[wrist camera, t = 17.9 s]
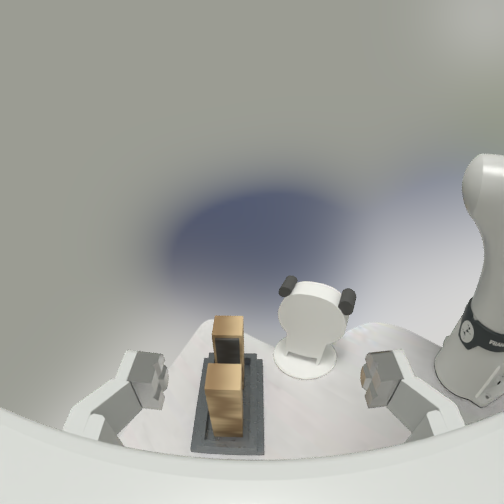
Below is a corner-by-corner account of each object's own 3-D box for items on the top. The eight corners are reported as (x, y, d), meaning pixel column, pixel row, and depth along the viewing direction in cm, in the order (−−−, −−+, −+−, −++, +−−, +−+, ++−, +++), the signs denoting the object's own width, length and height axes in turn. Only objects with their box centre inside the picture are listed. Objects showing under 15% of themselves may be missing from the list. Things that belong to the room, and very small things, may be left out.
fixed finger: (244, 370, 49) (243, 316, 43) (243, 390, 45) (242, 337, 39) (220, 369, 49) (214, 315, 43) (218, 390, 45) (211, 336, 39)
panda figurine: (344, 343, 55) (360, 277, 48) (331, 387, 46) (350, 320, 39) (285, 328, 59) (290, 262, 52) (263, 369, 50) (266, 300, 43)
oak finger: (243, 412, 41) (241, 361, 35) (242, 437, 37) (240, 390, 32) (216, 411, 41) (208, 360, 35) (214, 436, 37) (204, 389, 32)
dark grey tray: (262, 363, 51) (262, 353, 50) (263, 454, 36) (264, 448, 34) (204, 361, 51) (203, 352, 50) (191, 451, 36) (188, 444, 34)
